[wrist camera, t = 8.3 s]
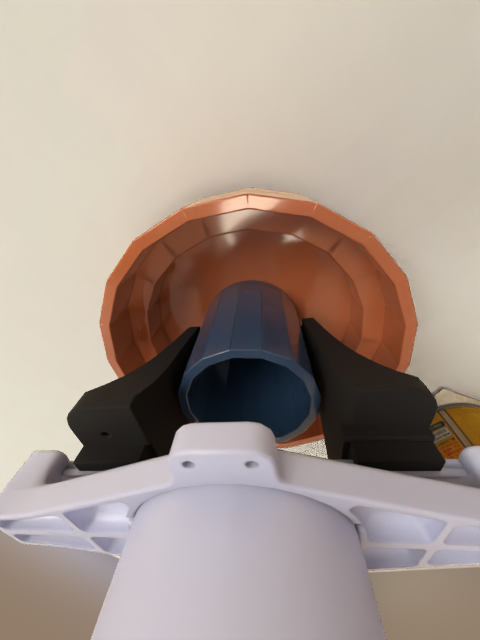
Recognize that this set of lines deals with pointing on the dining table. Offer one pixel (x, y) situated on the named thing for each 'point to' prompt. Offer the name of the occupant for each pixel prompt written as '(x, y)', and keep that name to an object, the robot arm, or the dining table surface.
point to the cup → (252, 363)
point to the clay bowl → (258, 278)
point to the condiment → (455, 423)
